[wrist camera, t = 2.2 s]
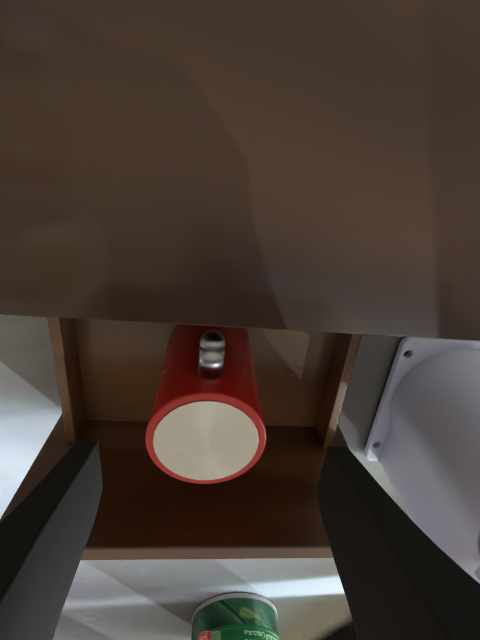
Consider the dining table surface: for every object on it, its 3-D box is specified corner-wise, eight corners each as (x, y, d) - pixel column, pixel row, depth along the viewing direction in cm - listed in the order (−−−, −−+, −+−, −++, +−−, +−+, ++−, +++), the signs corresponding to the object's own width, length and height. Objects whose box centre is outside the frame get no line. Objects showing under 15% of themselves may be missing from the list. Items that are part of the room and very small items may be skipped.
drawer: (320, 469, 24) (366, 607, 17) (72, 465, 23) (5, 615, 15) (389, 211, 17) (523, 257, 10) (30, 178, 15) (-140, 203, 8)
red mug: (246, 386, 20) (259, 486, 14) (166, 383, 19) (145, 485, 13) (259, 283, 17) (281, 352, 11) (167, 277, 17) (141, 345, 11)
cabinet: (374, 260, 18) (495, 342, 10) (41, 234, 17) (-115, 308, 9) (471, -109, 13) (907, -553, 5) (-23, -203, 11) (-644, -1130, 3)
